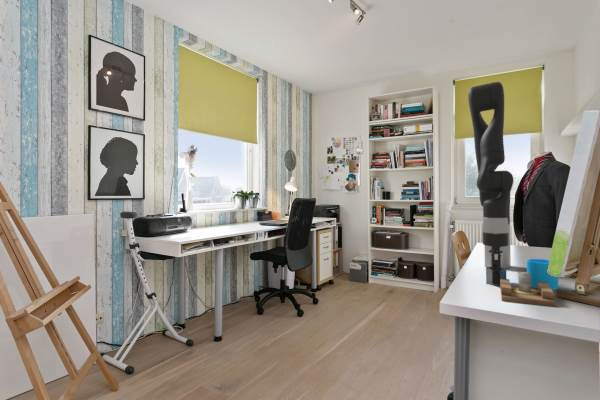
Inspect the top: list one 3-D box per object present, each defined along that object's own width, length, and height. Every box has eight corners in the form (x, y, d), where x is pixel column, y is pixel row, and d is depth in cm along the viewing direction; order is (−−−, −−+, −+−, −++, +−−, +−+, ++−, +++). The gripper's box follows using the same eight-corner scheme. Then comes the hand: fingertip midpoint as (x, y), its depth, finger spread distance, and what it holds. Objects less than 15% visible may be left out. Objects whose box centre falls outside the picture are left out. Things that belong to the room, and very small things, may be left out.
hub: (486, 280, 119) (486, 266, 119) (505, 282, 117) (505, 267, 117) (486, 284, 114) (486, 269, 114) (506, 286, 112) (506, 270, 111)
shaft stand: (500, 287, 111) (499, 266, 111) (546, 291, 105) (545, 269, 105) (501, 300, 96) (501, 277, 96) (555, 306, 91) (554, 281, 91)
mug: (559, 291, 105) (558, 264, 105) (526, 288, 109) (526, 262, 109) (557, 283, 115) (556, 258, 115) (527, 280, 119) (527, 256, 119)
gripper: (482, 229, 123) (483, 276, 124) (482, 232, 111) (483, 285, 111) (507, 229, 120) (508, 278, 120) (509, 233, 107) (510, 288, 107)
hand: (496, 281), depth 115 cm, fingers closed on hub, 5 cm apart
